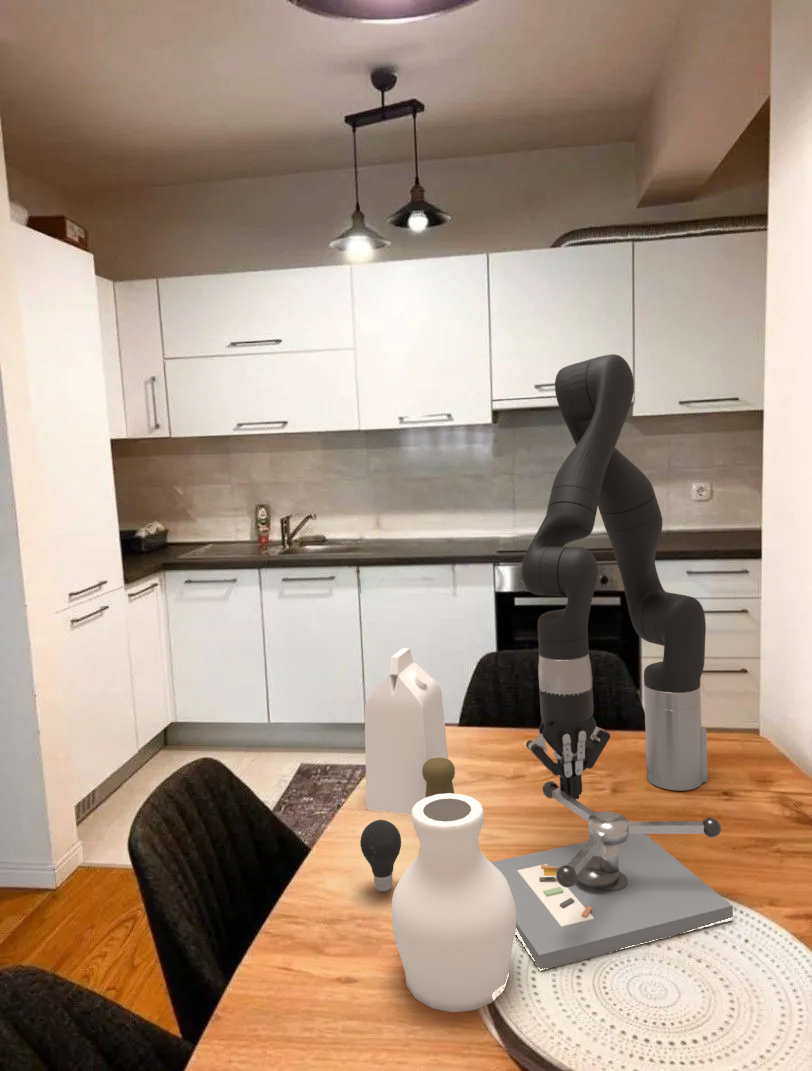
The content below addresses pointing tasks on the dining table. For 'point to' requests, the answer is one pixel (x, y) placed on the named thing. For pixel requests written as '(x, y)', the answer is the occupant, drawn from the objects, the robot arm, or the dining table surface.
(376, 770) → the milk
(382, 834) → the light bulb
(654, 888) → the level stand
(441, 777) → the cork
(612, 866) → the capstan
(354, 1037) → the dining table surface
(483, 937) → the vase
